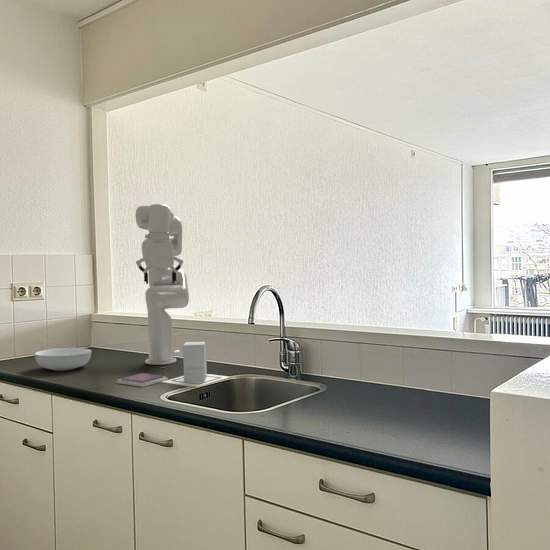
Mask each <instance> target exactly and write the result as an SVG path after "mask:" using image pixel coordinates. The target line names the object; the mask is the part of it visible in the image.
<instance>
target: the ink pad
mask: <svg viewBox="0 0 550 550" xmlns="http://www.w3.org/2000/svg"><path fill="white" fill-rule="evenodd" d="M166 380H168V376H165V375H160V374H159V375H158V374H152V373H151V374H150V373H137V374H134V375H130V376H126V377H121V378H119V379H116V383H117V384H119V385H128V386H134V387H139V388H144V387H147V386H151V385H155V384H158V383H161V382H163V381H166Z"/></svg>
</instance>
